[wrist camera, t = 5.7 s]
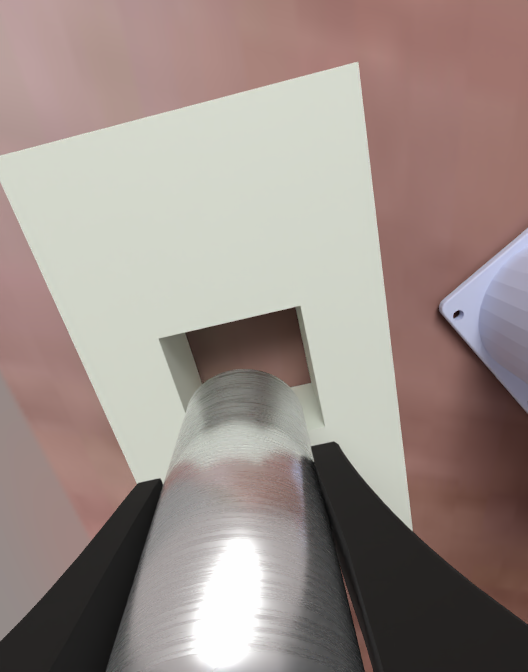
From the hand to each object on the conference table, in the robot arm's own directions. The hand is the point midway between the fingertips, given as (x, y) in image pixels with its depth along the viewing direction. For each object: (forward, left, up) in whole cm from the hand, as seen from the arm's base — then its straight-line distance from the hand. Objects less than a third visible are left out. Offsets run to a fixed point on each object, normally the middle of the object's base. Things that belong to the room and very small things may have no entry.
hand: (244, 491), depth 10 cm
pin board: (0, 0, -10) cm, 10 cm away
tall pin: (0, 0, -3) cm, 3 cm away
